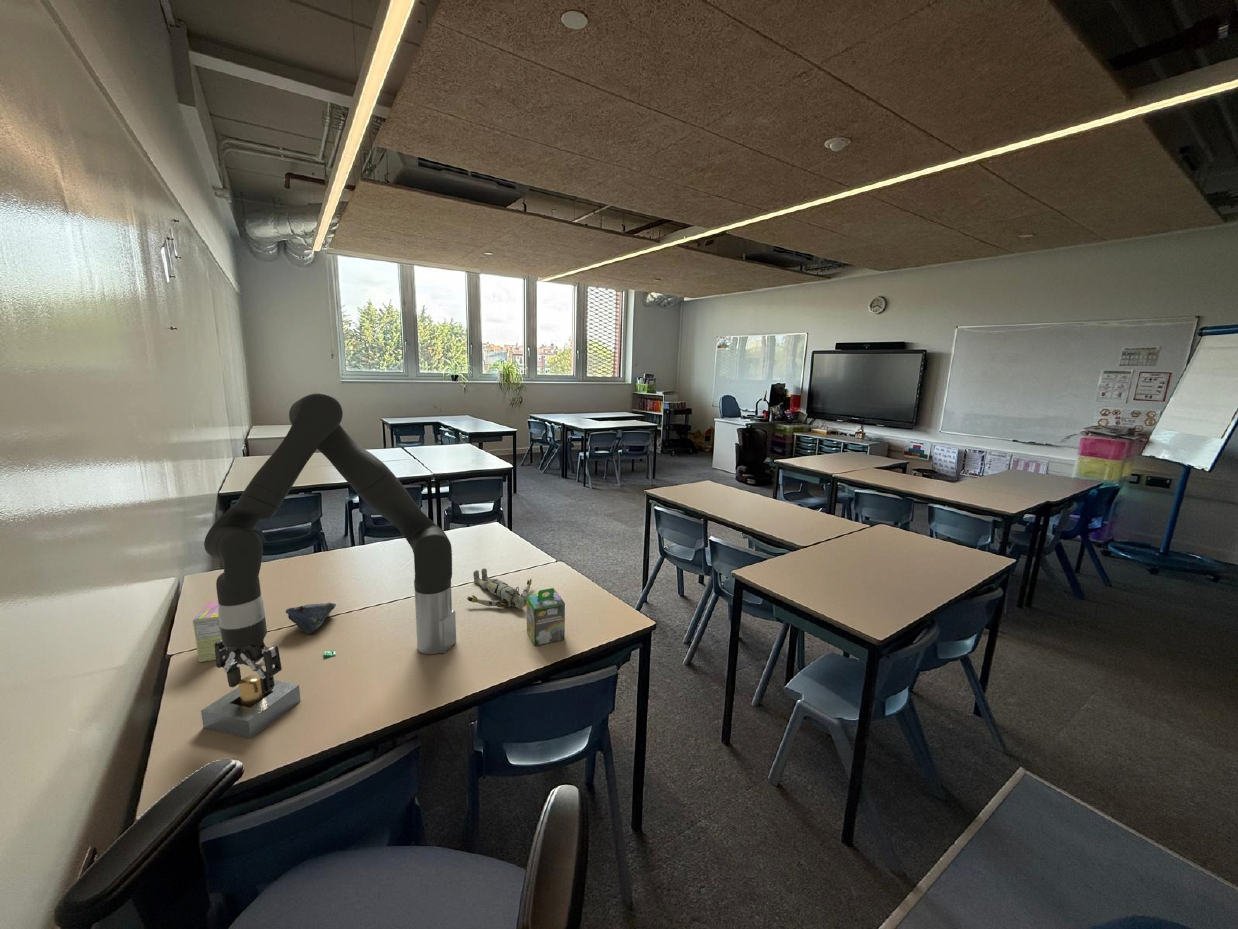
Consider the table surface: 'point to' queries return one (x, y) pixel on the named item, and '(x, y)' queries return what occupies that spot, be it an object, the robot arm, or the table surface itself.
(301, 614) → the rock
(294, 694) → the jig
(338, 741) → the table surface
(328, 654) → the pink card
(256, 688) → the cylinder
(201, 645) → the box
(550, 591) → the chalk box
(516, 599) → the action figure
